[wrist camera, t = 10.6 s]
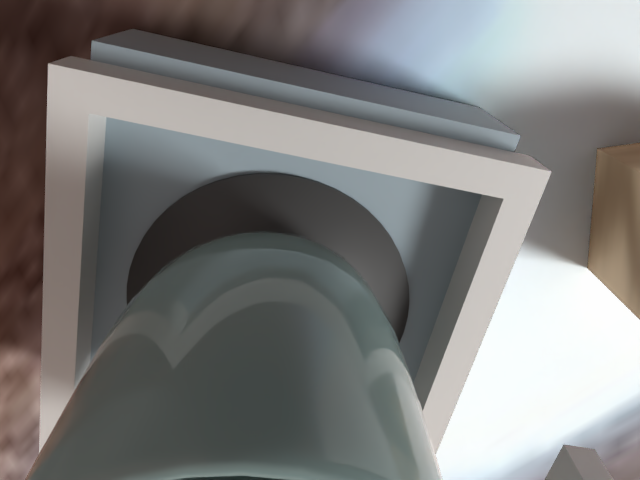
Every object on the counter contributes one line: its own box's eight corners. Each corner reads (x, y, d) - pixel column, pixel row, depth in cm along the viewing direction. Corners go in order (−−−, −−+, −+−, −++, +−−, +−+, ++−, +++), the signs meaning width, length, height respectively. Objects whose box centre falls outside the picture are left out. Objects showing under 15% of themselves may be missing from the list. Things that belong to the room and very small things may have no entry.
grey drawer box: (116, 25, 18) (48, 41, 13) (492, 110, 20) (559, 153, 15) (91, 391, 24) (37, 497, 19) (380, 433, 26) (400, 541, 21)
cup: (170, 414, 20) (58, 787, 10) (115, 208, 16) (-117, 491, 7) (392, 392, 19) (473, 750, 10) (381, 181, 16) (484, 433, 7)
